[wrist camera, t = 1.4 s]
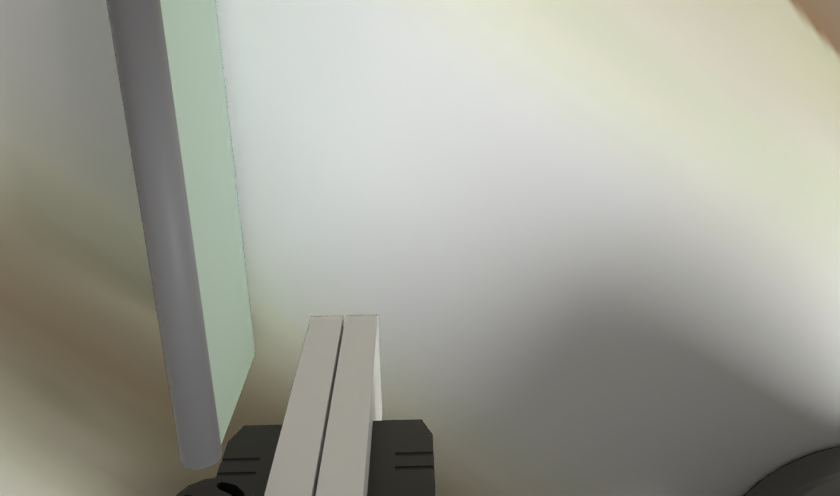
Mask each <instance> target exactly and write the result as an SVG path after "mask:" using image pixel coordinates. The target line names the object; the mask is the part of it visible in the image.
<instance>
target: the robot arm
mask: <svg viewBox="0 0 840 496" xmlns="http://www.w3.org/2000/svg"><path fill="white" fill-rule="evenodd" d="M176 496H435V479H434V458H433V436H432V433H431V432H430V430H429V429H428V428H427V426H426V425H425V424H424V422H423V421H422V420H383V421H382V395H381V373H380V351H379V329H378V315H351V316H346V317H345V323H344V324H343V316H311V318H310V322H309V326H308V329H307V333H306V337H305V341H304V345H303V349H302V352H301V356H300V360H299V364H298V368H297V372H296V375H295V379H294V383H293V387H292V391H291V395H290V398H289V402H288V406H287V410H286V414H285V418H284V421H283V425H252V426H244V427H243V428H242V429H241V430H240V431H239V432H238V433H237V434H235V435H234V436H233V437H232V438H231V439H230V440H229V442H228V445H227V447H226V450H225V453H224V456H223V458H222V462H221V464H220V467H219V470H218V472H217V476H216V478H211V479H205V480H202V481H199V482H197V483H194V484H192V485H189V486H188V487H187V488H185V489H184V490H182V491H181V492H180V493H178V494H177V495H176ZM745 496H840V447H836V448H832V449H828V450H824V451H821V452H817V453H814V454H811V455H809V456H806V457H803V458H801V459H799V460H796V461H794V462H792V463H790V464H788V465H786V466H784V467H782V468H781V469H779V470H777V471H776V472H774V473H772V474H771V475H769V476H768V477H766V478H765V479H764V480H762V481H761V482H760V483H758V484H757V485H756V486H755V487H754V488H752V489H751V490H750V491H749V492H748V493H747V494H746V495H745Z"/></svg>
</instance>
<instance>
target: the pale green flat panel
mask: <svg viewBox="0 0 840 496" xmlns="http://www.w3.org/2000/svg"><path fill="white" fill-rule="evenodd" d="M107 7H108V13H109V19H110V25H111V31H112V38H113V44H114V50H115V56H116V62H117V68H118V75H119V81H120V87H121V93H122V99H123V106H124V112H125V118H126V124H127V130H128V136H129V143H130V149H131V155H132V161H133V167H134V174H135V180H136V186H137V192H138V198H139V205H140V211H141V217H142V223H143V229H144V235H145V242H146V248H147V254H148V260H149V266H150V273H151V279H152V285H153V291H154V297H155V303H156V310H157V316H158V322H159V328H160V334H161V341H162V347H163V353H164V359H165V365H166V372H167V378H168V384H169V390H170V396H171V402H172V409H173V415H174V421H175V427H176V433H177V440H178V446H179V452H180V458H181V463H182V465H183V466H184V467H185V468H188V469H191V470H201V469H205V468H209V467H211V466H213V465H215V464H216V463H217V462H219V460H220V459H221V457H222V447H221V444H222V442H223V439H224V436H225V434H226V431H227V428H228V426H229V423H230V420H231V418H232V415H233V412H234V410H235V407H236V404H237V402H238V399H239V396H240V394H241V391H242V388H243V385H244V383H245V380H246V377H247V375H248V372H249V369H250V367H251V364H252V361H253V359H254V356H255V347H254V338H253V329H252V320H251V311H250V302H249V293H248V284H247V276H246V267H245V258H244V249H243V240H242V231H241V222H240V213H239V204H238V195H237V186H236V178H235V169H234V160H233V151H232V142H231V133H230V124H229V115H228V106H227V97H226V89H225V80H224V71H223V62H222V53H221V44H220V35H219V26H218V17H217V8H216V0H107Z"/></svg>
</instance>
